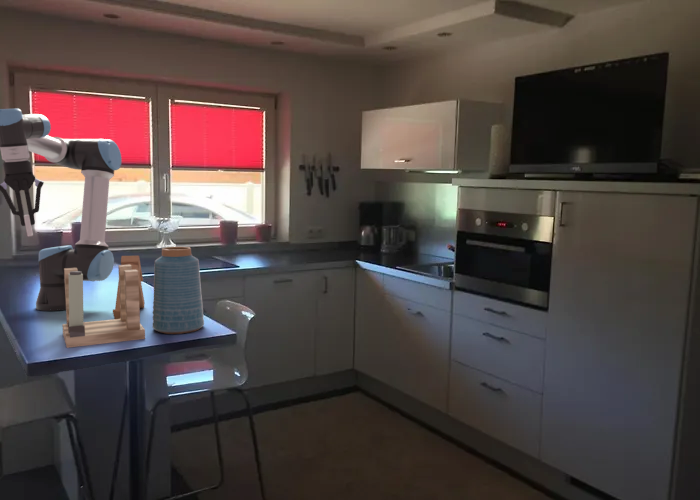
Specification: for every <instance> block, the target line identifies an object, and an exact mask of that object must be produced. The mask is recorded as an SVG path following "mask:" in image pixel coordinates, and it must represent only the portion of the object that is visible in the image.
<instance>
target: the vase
mask: <svg viewBox="0 0 700 500" xmlns="http://www.w3.org/2000/svg"><path fill="white" fill-rule="evenodd" d="M199 260H200V259H198V257H195V256H193V254H192V248H191V247H190V246H168V247H167V246H166V247H162V248H161V256H159V257H158V258H156V259H154V270H153V271H154V273H153V276H154V277H153V302H152V304H153V305H152V329H153V330H154V331H156V332H158V333H161V334H167V335H182V334H189V333H194V332H196V331H199V330H200V329H201V328H202V327H204V325H205V320H204V309H203V308H204V306H203V305H204V304H203V297H202V285H201V272H200V261H199Z"/></svg>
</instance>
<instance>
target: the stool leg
mask: <svg viewBox="0 0 700 500" xmlns="http://www.w3.org/2000/svg"><path fill="white" fill-rule="evenodd" d="M83 322H84V281H83V274H82V272H81V271H71V272H70V274H69V327H71V326H81V325H83Z"/></svg>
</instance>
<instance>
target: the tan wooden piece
mask: <svg viewBox="0 0 700 500" xmlns="http://www.w3.org/2000/svg"><path fill="white" fill-rule="evenodd" d="M140 259H141V258H140V255H121V259H120V265H131V266H132V270H137V271H138V281H139V309H144V308H145V296H144V292H143V285H142V282H144V278H143V272H142V266H141V260H140ZM112 314H113V319H120V295H119V281H118V283H117V291H116V299H115V308H114V309H112Z"/></svg>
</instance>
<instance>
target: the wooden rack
mask: <svg viewBox="0 0 700 500" xmlns="http://www.w3.org/2000/svg"><path fill="white" fill-rule="evenodd" d="M71 271H78V269H77V268H64V278H65V298H66V310H65V311H66V313H65V314H66V315H65V316H66V323H62V335H63V340H64V343H65V346H66V348H67V349H68V348H76V347H84V346H93V345H104V344H112V343H120V342H121V343H122V342H129V341H136V340H145V339H146V329H145V327H144V326H143V325H142V324H141V317H140V316H141V315H140V313H141V312H140V309H141V308H139V281H138V271H137V270H132V266H131V265H121V264H118V282H119V295H120V319H114V318H113V319H105V320H104V319H103V320H102V319H101V320H94V321H83V325H81V326H71V327H69V274H70V272H71Z"/></svg>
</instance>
